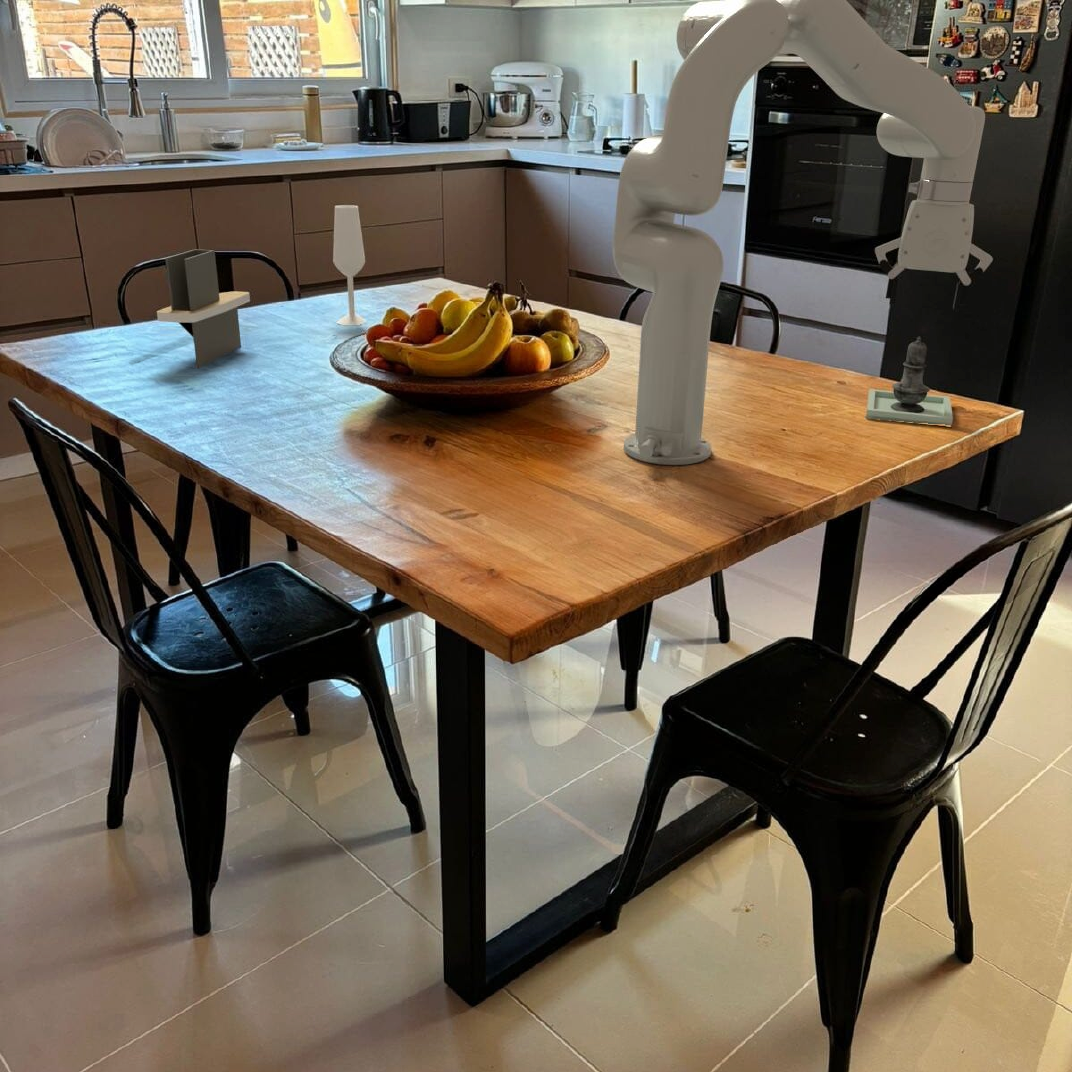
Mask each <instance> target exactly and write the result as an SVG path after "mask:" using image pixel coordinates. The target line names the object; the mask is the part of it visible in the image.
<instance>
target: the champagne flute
mask: <svg viewBox="0 0 1072 1072" xmlns="http://www.w3.org/2000/svg"><path fill="white" fill-rule="evenodd" d="M359 210H360V209H359V206H358V205H350V204H347V205H346V204H344V205H343V204H341V205H335V206H334V223H333V226H334V227H333V250H332V251H333V253H332V254H333V255H332V262H333V264H334V266H335V267H336V269H338V271H339V272H340V273H342V275H344V276H346V277H347V278H346V279H347V297H348V313H347V314H346V315H345V316H343V317H342V318H340V319H339V320H338V321H336V323H337V324H338V325H341V326H361V325H360V324H363V323H365V322H366V320H367V319H365V318H364V317H362V316H360V315H358V314H357V313H355V294H354V293H355V292H354V277H355V276H356V275H357V274H358V273H359V272H360V271H361V270H362V268H363V267H364V265H365V263H366V255H365V254H366V253H365V248H364V241H363V234H362V226H361V221H360V220H361V219H360V212H359ZM363 325H364V324H363Z"/></svg>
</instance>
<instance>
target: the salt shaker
mask: <svg viewBox="0 0 1072 1072" xmlns="http://www.w3.org/2000/svg"><path fill="white" fill-rule="evenodd" d="M921 340H922V338H921V336H918V337H916V340H915V341H913V342H911V343H910V344H908V347H907V352H906V359H905V361H904V362H903V363H902V364H903V366H904V368H903V372H902V373H903V375H902V378H901V379H900V381H899V382H895V383H893V384H892V385H891V387H892V389H893V392H894V396H895V398H896V399H897V400H898V401H899V402H897V403H894V404H892V405H891V408H892V409H893V410H896V411H900V412H910V413H921V412H924V408H923V407H922V406H921V405H919V404H917V403H920V402H922V401H923V400H924V399H925V397H926V396H927V395H928V393H929V392H930V387H928V386H926V385H925V384H924V383H923V382H924V381H923V376H924V372H925V368H926V367H927V364H925V362H926V356H927V351H928V350H927V349H928V348H927V345H926V344H925V343H924V342H922V341H921Z"/></svg>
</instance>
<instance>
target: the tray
mask: <svg viewBox="0 0 1072 1072" xmlns="http://www.w3.org/2000/svg"><path fill="white" fill-rule="evenodd" d="M897 402H899V401H898V400H897V399H896V398H895V396H894V392H893V391H892V390H883V389H873V388H869V389H868V396H867V402H866V403H867V405H866V413H865V419H866V420H872V419H880V420H879V421H882V420H891V421H904V422H913V423H928V424H945V425H953V419H954V417H953V411H952V410H953V409H952V404H951V396H947V395H946V396H944V395H934V394H927V396H926V397H925V399H924V400H923V401H922V402H920V403H917V404H919V405H921V406H922V407H923V408H924V412H921V413H910V412H900V411H896V410H893V409H892V408H891V405H892V404H894V403H897ZM891 421H890V422H891Z"/></svg>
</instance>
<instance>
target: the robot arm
mask: <svg viewBox="0 0 1072 1072" xmlns="http://www.w3.org/2000/svg"><path fill="white" fill-rule="evenodd" d="M676 46H677V49H678V51H679V55H680V56H681V58H682V60H683V62H682V64H681V65H680V67H679V69H678V70H677V72H676V74H675V76H674V79H673V82H672V83H671V86H670V87H671V88H670V90H669V94H668V98H667V106H666V111H665V118H664V124H663V130H662V135H654V136H649V137H646V138H644V139H642V140H640V141H639V142H637V143H636V144H635V145H634V146H633V147H632V148H631V149H630V150H629V152H628V153H627V156H626V157H625V159H624V162H623V163H622V167H621V170H620V173H619V178H618V179H619V180H618V185H617V186H618V187H617V194H616V195H617V197H616V207H615V217H614V227H613V229H614V230H613V240H612V241H613V242H612V254H613V263H614V266H615V269H616V271H617V273H618V275H619V276H620V278H621V279H622V280H624V282H626V283H628V284H629V285H631V286H633V287H636V288H639V289H641V290H645V291H647V292H651V293H652V296H651V298H650V301H649V304H648V306H647V307H646V308H647V309H646V311H645V313H644V316H643V319H642V324H641V329H640V343H639V344H640V348H639V362H638V364H639V365H638V376H637V377H638V379H637V380H638V381H637V396H636V400H637V401H636V413H635V414H636V415H635V430H634V434H631V435H629V436H628V437H626V438H625V439H624V441H623V451H624V452H625V453H626V454H627V455H628V456H629V457H631V458H633V459H635V460H638V461H641V462H645V463H649V464H656V465H664V466H683V465H691V464H696V463H700V462H703V461H705V460H707V459H708V458H709V457H710V456H711V454H712V445H711V444H710V442H709V441H708V440H706V439H705V438H702V434H703V433H702V432H703V421H704V410H705V397H706V386H707V385H706V384H707V377H708V376H707V374H708V365H709V364H708V363H709V352H710V340H711V330H712V320H713V315H714V314H713V313H714V309H715V304H716V301H717V300H716V299H717V296H718V292H719V290H720V289H719V288H720V285H721V281H722V278H723V273H724V258H723V253H722V250H721V247H720V246H719V244H718V242H717V241H716V240H715V239H714V238H713V237H712V236H711V235H710V234H709V233H706V232H705V231H703V230H701V229H699V228H696V227H692V226H687V225H683V224H679V223H675V217H676V215H680V216H681V215H682V216H688V217H693V216H694V217H696V216H697V217H698V216H702V215H705V214H707V213H708V212H710V211H712V210H713V209H714V208H715V207H716V206H717V204H718V202H719V200H720V197H721V195H722V190H723V185H724V182H725V181H724V179H725V172H726V166H727V165H726V163H727V157H728V150H729V143H730V133H731V126H732V121H733V117H734V116H733V115H734V111H735V107H736V103H737V101H738V98H739V97H740V94H741V93H742V91H743V89H744V87H745V86H746V85H747V83H748V82H749V81H750V80H751V79H752V78H753V76H754V75H756V73H757V72H759V71H760V70H761V69H762V68H764V67H765V66H766V65H768V64H769V63H771V62H772V61H773V60H774V59H775V58H776V56H778V54H779V55H781V54H782V55H784V54H786V55H787V54H793V55H796V56H798V57H799V58H800V59H801V60H802V61H804V63H805V64H806V65H808V66H809V67H810V69H812V70H813V71H814V72H815V73H816V74H817V75H818V76H819V77H820V78H821V79H822V80H823V81H824V82H825V83H826V85H827V86H829V88H830V89H831V90H832V91H833V92H834V93H835V94H836V95H837V96H839V97H840V99H843V100H844V101H847V102H849V103H851V104H854V105H856V106H858V107H862V108H864V109H868V110H870V111H874V112H879V113H882V115H881V116H880V118H879V120H878V123H877V124H876V125H877V126H876V136H877V137H876V138H877V141H878V143H879V145H880V146H881V148H882V149H884V150H885V151H886V152H888V153H889V154H891V155H894V156H898V157H904V158H905V157H906V158H907V157H908V158H915V159H916V158H919V159H920V158H921V159H923V163H922V169H921V173H920V178H919V181H917V182H910V183H909V187H908V193H912V194H915V195H916V196H917V197H916V199H914V200H912V201H910V204H909V207H908V211H907V214H906V218H905V220H904V225H903V227H902V233H901V236H900V237H898V238H896V239H893V240H891V241H889V242H886V243H883V244H881V245H879V246H876V247H875V248H874V253H875V255H876V256H875V257H876V258H877V261H878V264H879V267H880V268H881V270H882V271H883V272H884V273H885V275H886V276H887V278H888V280H887V288H886V294H885V299H889V301H888V303H889V306H893V305H895V300H896V295H897V291H898V286H899V285H898V284H899V283H898V282H899V277H898V275H899V274H901V272H903V271H904V270H905V269H909V270H920V271H929V272H941V273H943V272H944V273H956V275H957V277H958V278H959V281H958V282H957V283H956V288H955V294H954V298H953V304H952V309H953V311H954V312H959V310H960V306H964V305H965V302H966V297H967V291H968V286H969V285H971V283H972V282H974V281H975V280H977V279H979V278H980V277H981V276H982V275H983V273H984V272H985V271H986V270H987V269H988V267H989V266H990V265H991V263H992V262H993V259H994V258H993V257H992V256H991V255H990V254H989V253H987V252H985V251H984V250H983V249H981V248H979V247H978V246H977V245H975V244H973V243H972V238H973V237H972V236H973V231H974V220H975V219H974V217H975V205H974V204H972V203H970V200H971V193H972V190H973V184H974V183H973V182H974V179H975V173H976V168H977V164H978V162H977V161H978V158H979V154H980V153H979V151H980V147H981V142H982V137H983V131H984V127H985V121H986V113H985V110H984V109H983V108H981V107H980V106H976V105H969V104H968V103H967V101H966V100H965V99H964V97H963V96H962V95H961V94H960V93H959V92H958V91H957V88H955V87H954V86H953V85H952V84H951V83H950V82H949V81H947V80H946V79H945V78H944V77H942V76H941V75H940V74H938V73H936V72H935V71H933V70H932V69H931V68H928V67H927V66H925V65H923V64H921V63H919V62H918V61H916V60H914V59H912V58H910V56H908V55H906V54H904V53H902V52H900V51H898V50H896V49H894V48H892V47H891V46H889V44H887V43H886V42H884V40H883V39H882V38H881V37H880V35H878V34H877V33H876V31H875V30H874V29H873V28H872V27H871V26H870V25H869V24H868V22H866V21H865V19H864V18H863V17H862V16H861V15H860V14H859V12H858V11H856V9H855V8H854V6H852V5H851V4H850V3H849V2H848V1H847V0H701V1H697V3H695V4H693V5H691V6H690V7H689V8H688V9H687V10H686V11H685V13H683V15H682V16H681V18H680V21H679V23H678V25H677V32H676ZM898 248H899V249H898ZM895 249H898V252H897V253H898V255H897V262H896V263H895V264H894V265H893V266H892V265H891V263H890V262H889V261H888V259H887V257H886V253H888V252H891V251H893V250H895ZM970 254H971V255H972V256H974V257H975V258H977V259H978V260H980V261H979V263H978V264H977V265H976V267H975V268H972V270H971V271H969V272H967V270H966V267H967V265H968V261H969V258H970V257H969V256H970Z"/></svg>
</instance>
